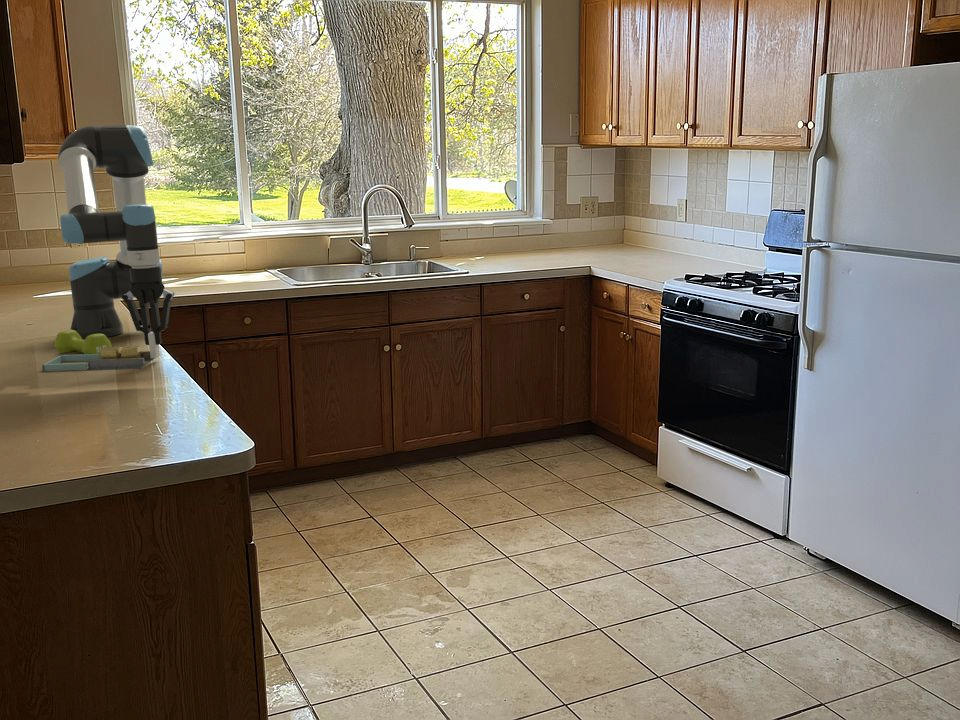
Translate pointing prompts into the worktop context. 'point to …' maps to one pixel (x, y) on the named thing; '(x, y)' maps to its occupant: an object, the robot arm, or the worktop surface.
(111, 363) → the slot board
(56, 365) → the tray
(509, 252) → the worktop surface
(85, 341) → the dumbbell
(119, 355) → the wooden block
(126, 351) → the wooden cube
